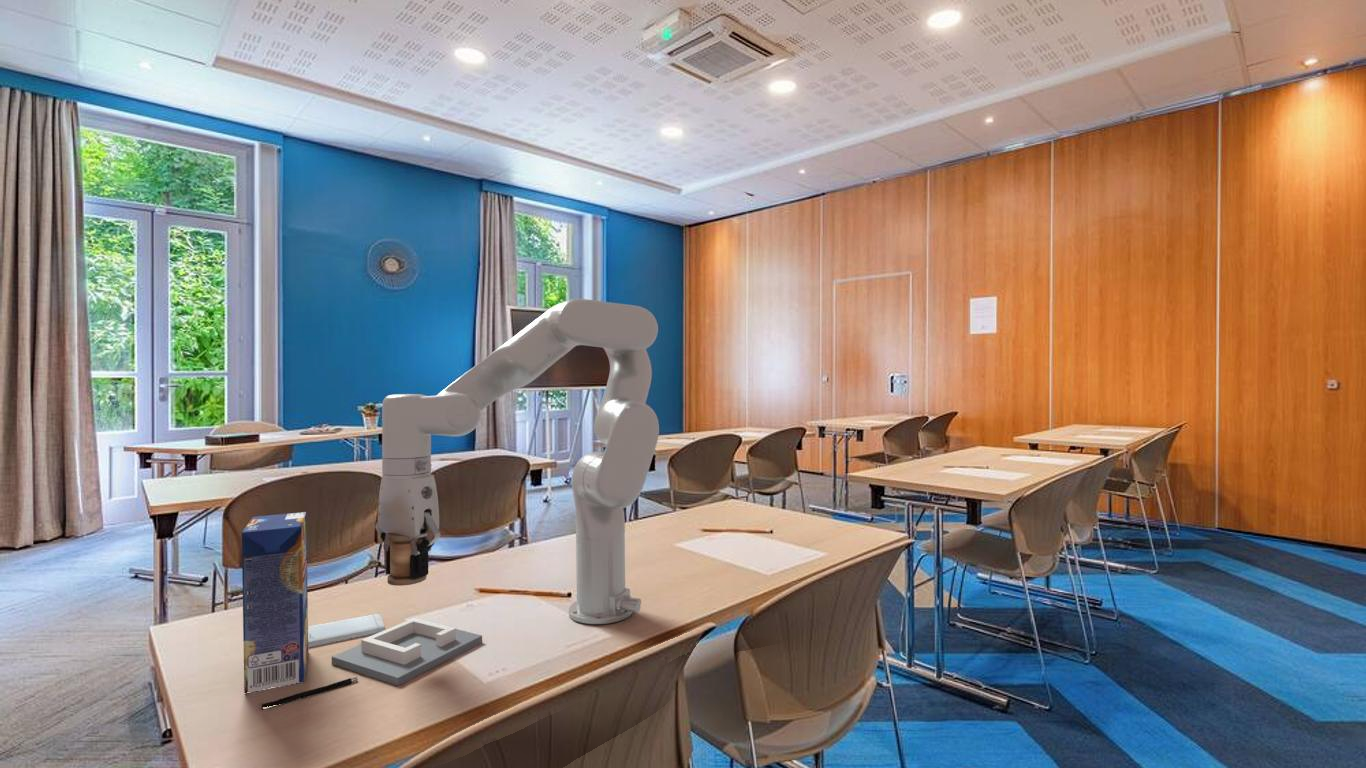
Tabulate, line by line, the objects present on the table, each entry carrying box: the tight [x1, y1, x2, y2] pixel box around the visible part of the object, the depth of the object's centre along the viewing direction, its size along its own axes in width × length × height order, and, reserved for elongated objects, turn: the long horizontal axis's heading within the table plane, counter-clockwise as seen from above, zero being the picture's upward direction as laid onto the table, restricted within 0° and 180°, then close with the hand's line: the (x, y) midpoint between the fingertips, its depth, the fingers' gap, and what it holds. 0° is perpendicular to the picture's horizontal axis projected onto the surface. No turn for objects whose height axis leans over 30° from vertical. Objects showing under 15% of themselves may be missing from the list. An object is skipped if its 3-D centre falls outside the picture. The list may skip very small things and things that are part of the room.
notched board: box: [331, 617, 483, 686], centre depth 104 cm, size 16×17×3 cm
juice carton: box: [241, 511, 309, 693], centre depth 97 cm, size 12×8×24 cm, turn 28°
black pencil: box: [261, 677, 359, 709], centre depth 91 cm, size 12×1×1 cm, turn 130°
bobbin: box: [387, 531, 427, 587], centre depth 104 cm, size 6×6×8 cm
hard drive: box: [308, 613, 386, 648], centre depth 113 cm, size 2×8×12 cm
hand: (407, 573), depth 104 cm, fingers closed on bobbin, 5 cm apart
